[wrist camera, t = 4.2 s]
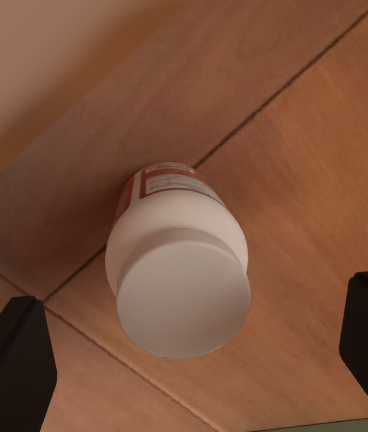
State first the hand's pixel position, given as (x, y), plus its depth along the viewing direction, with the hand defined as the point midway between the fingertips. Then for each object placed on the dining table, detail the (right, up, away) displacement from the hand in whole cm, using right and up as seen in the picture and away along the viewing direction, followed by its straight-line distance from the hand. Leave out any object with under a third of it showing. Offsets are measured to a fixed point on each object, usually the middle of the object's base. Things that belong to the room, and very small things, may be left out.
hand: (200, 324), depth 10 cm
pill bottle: (-2, +4, +12) cm, 13 cm away
